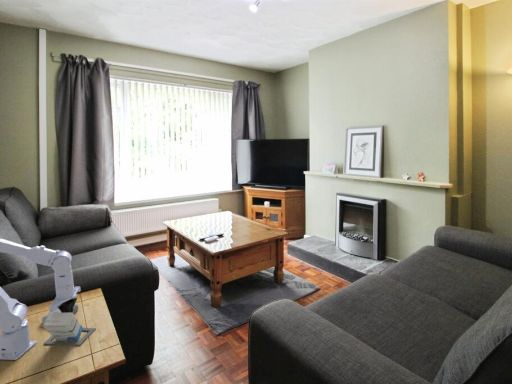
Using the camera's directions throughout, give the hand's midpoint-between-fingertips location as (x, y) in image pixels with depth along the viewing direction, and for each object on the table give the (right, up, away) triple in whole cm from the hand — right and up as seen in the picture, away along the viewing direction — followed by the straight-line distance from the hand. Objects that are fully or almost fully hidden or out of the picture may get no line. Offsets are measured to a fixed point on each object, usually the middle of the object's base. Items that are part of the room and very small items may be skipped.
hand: (68, 317), depth 114 cm
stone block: (-13, -6, +15) cm, 21 cm away
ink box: (0, -7, +1) cm, 7 cm away
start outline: (0, -8, +1) cm, 8 cm away
